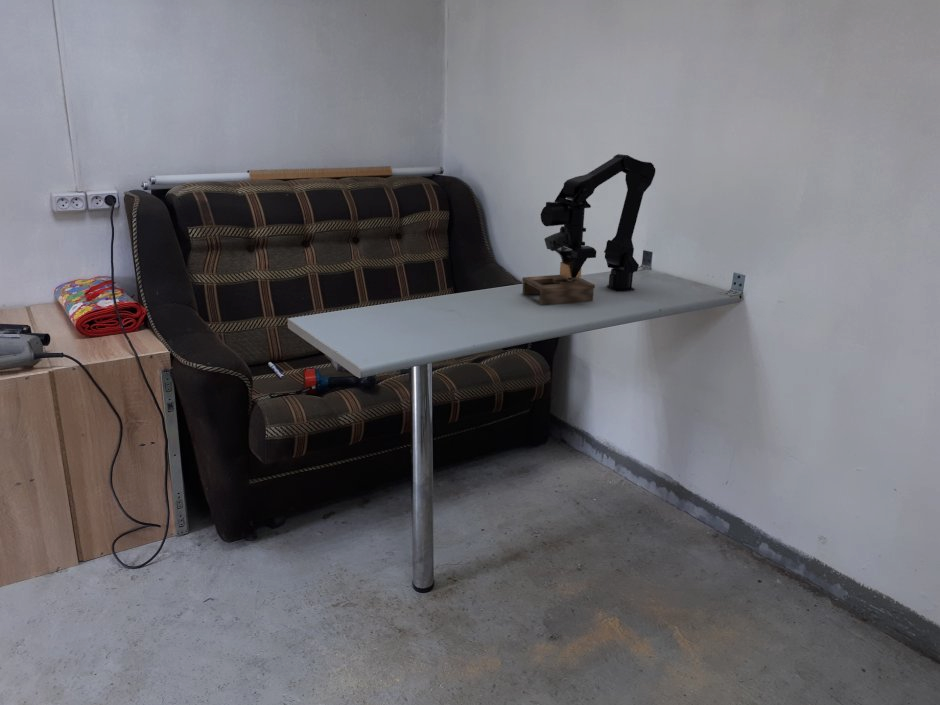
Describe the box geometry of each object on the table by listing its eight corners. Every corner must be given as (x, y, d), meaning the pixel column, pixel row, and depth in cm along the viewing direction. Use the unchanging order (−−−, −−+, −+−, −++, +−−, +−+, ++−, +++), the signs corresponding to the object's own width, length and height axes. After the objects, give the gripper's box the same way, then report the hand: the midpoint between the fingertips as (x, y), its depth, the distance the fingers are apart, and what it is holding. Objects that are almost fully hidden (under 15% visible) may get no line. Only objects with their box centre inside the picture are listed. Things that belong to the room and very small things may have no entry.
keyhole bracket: (571, 289, 225) (572, 273, 223) (593, 301, 212) (594, 284, 211) (521, 293, 219) (522, 277, 217) (541, 305, 207) (542, 288, 205)
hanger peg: (572, 287, 219) (574, 260, 217) (580, 292, 215) (582, 264, 212) (558, 289, 218) (559, 261, 215) (565, 293, 213) (567, 265, 210)
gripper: (535, 219, 215) (532, 270, 220) (564, 230, 199) (560, 285, 204) (568, 218, 219) (564, 268, 224) (599, 228, 202) (594, 282, 208)
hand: (570, 275), depth 215 cm, fingers closed on hanger peg, 4 cm apart
